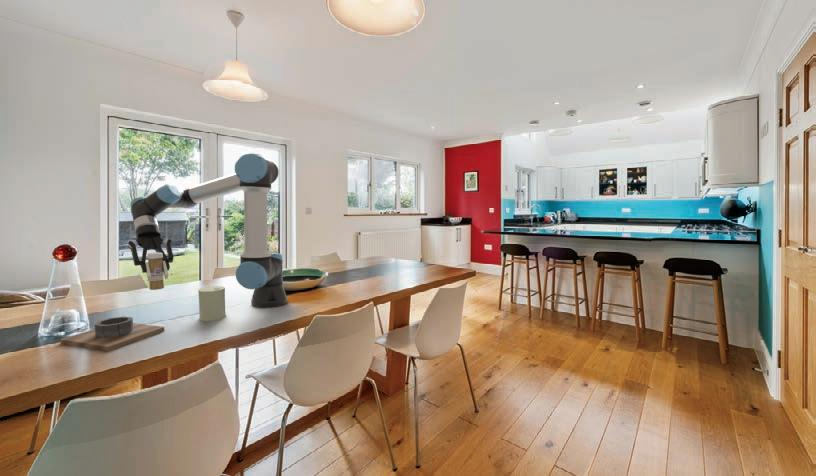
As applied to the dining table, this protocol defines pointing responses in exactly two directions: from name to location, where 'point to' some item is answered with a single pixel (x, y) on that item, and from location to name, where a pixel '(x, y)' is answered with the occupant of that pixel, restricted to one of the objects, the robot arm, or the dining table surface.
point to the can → (212, 303)
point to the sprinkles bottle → (156, 270)
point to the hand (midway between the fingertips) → (158, 277)
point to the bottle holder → (112, 334)
